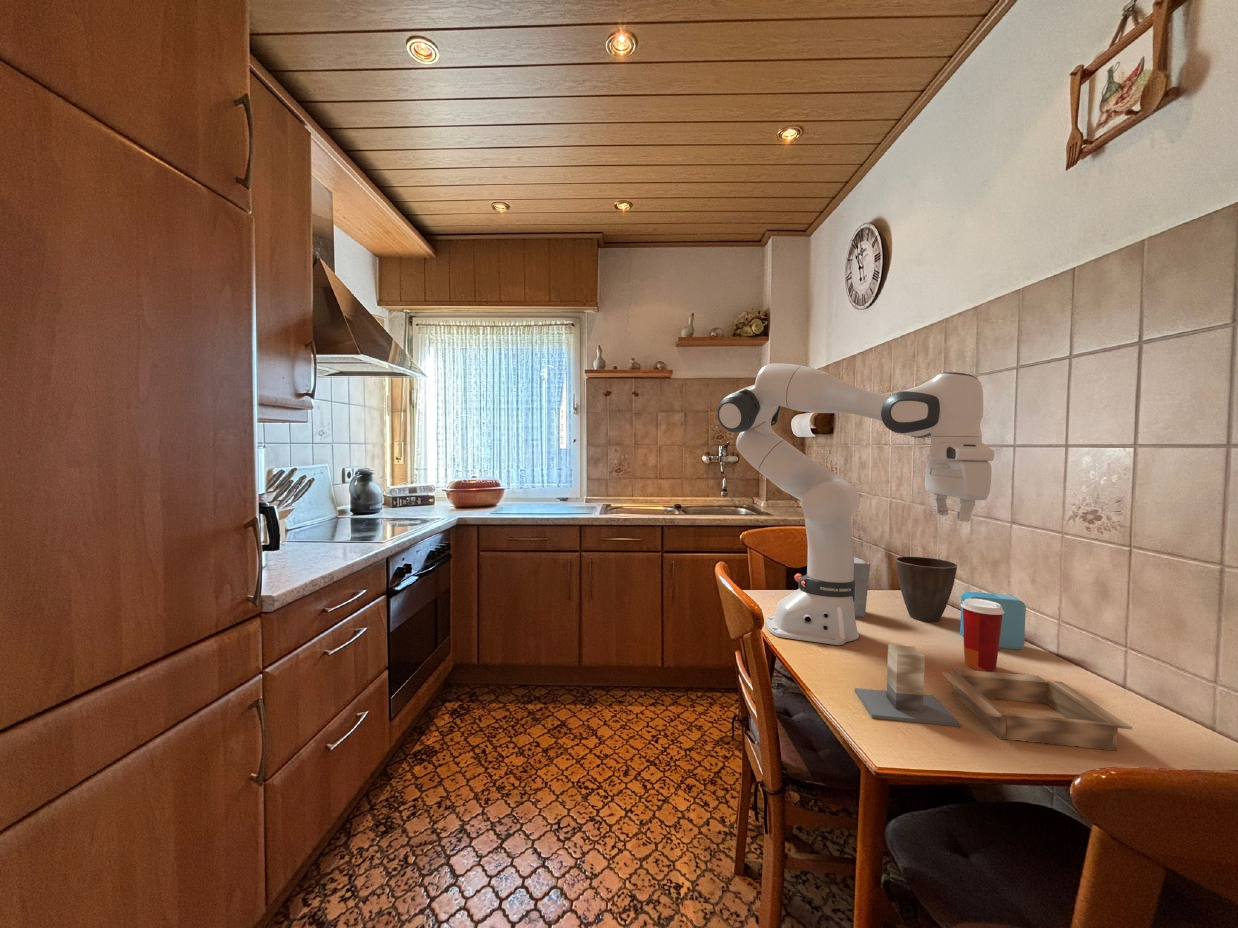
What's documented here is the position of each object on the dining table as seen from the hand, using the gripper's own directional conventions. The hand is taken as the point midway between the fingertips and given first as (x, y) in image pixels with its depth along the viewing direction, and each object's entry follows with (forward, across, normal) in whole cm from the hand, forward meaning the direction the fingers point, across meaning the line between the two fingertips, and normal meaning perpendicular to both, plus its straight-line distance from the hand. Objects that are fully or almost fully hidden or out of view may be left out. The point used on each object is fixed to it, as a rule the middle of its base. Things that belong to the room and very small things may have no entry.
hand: (952, 518), depth 104 cm
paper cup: (+33, -7, +10) cm, 35 cm away
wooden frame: (+33, +16, +6) cm, 37 cm away
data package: (+33, -22, +19) cm, 45 cm away
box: (+32, +16, -14) cm, 39 cm away
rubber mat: (+33, +16, -14) cm, 39 cm away
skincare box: (+34, -40, -9) cm, 53 cm away
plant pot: (+34, -40, +11) cm, 53 cm away
